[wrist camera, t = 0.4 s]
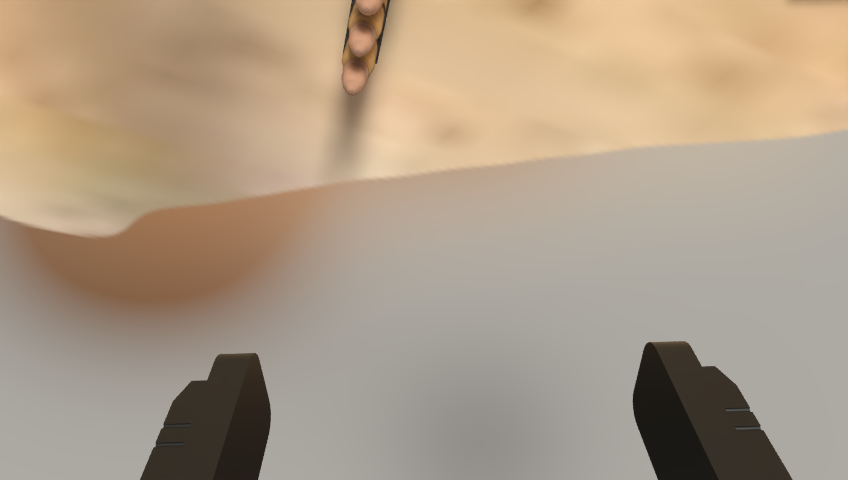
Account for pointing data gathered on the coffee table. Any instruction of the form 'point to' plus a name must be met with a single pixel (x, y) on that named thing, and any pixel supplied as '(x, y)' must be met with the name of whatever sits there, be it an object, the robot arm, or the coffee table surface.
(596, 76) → the coffee table surface
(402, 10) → the coffee table surface
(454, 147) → the coffee table surface
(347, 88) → the ammunition clip
